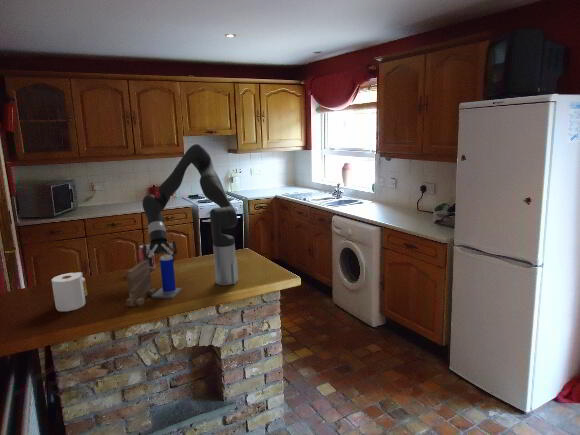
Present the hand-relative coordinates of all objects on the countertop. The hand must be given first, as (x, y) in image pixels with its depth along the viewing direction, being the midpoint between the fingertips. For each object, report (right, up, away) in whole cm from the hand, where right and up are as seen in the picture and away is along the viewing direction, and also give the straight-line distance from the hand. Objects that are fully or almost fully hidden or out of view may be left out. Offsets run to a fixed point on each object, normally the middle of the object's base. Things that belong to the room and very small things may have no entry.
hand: (162, 264), depth 185 cm
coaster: (+4, -11, -8) cm, 14 cm away
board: (-4, -12, -13) cm, 18 cm away
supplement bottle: (-32, -12, -8) cm, 35 cm away
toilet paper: (-30, -14, -18) cm, 38 cm away
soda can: (-14, -5, +23) cm, 27 cm away
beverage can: (+5, -10, -8) cm, 14 cm away
